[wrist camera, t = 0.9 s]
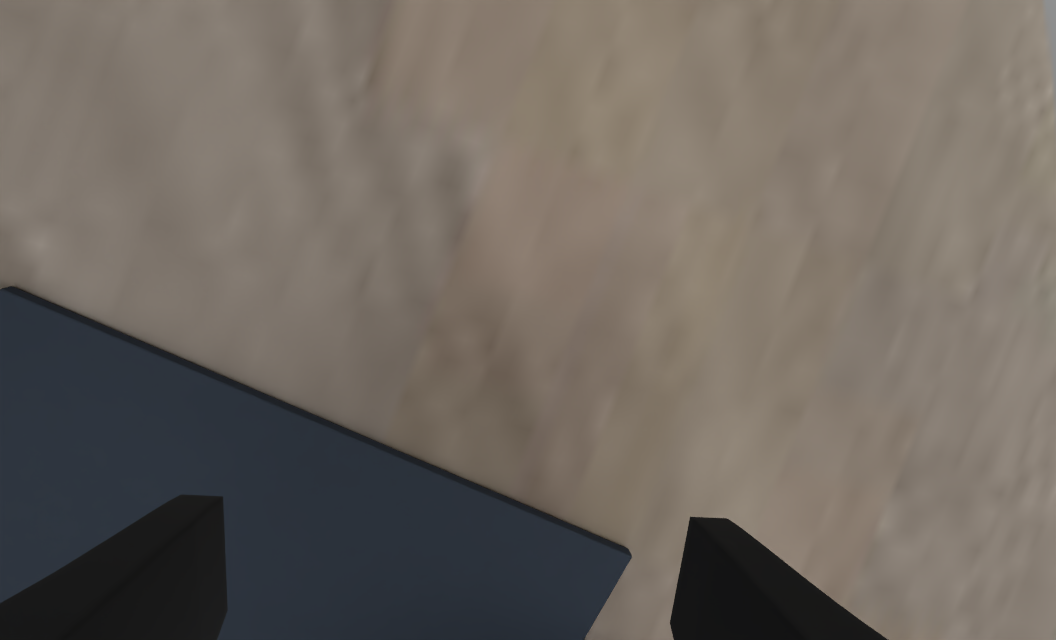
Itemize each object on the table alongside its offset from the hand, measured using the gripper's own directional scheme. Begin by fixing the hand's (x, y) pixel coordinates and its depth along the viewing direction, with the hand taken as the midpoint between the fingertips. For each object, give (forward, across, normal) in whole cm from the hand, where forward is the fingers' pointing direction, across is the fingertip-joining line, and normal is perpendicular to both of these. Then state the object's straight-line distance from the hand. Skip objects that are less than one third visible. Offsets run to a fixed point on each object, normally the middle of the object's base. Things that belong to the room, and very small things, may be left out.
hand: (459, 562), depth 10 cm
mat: (+10, +6, +8) cm, 14 cm away
